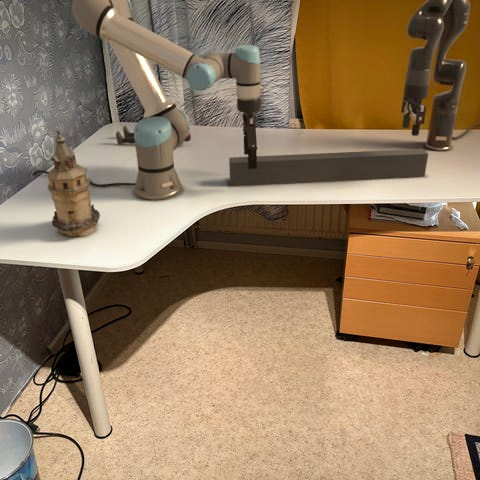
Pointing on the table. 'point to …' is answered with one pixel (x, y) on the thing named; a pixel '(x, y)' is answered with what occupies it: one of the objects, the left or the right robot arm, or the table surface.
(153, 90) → the left robot arm
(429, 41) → the right robot arm
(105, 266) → the table surface
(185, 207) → the table surface
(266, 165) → the post
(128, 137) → the toy
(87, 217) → the miniature building
